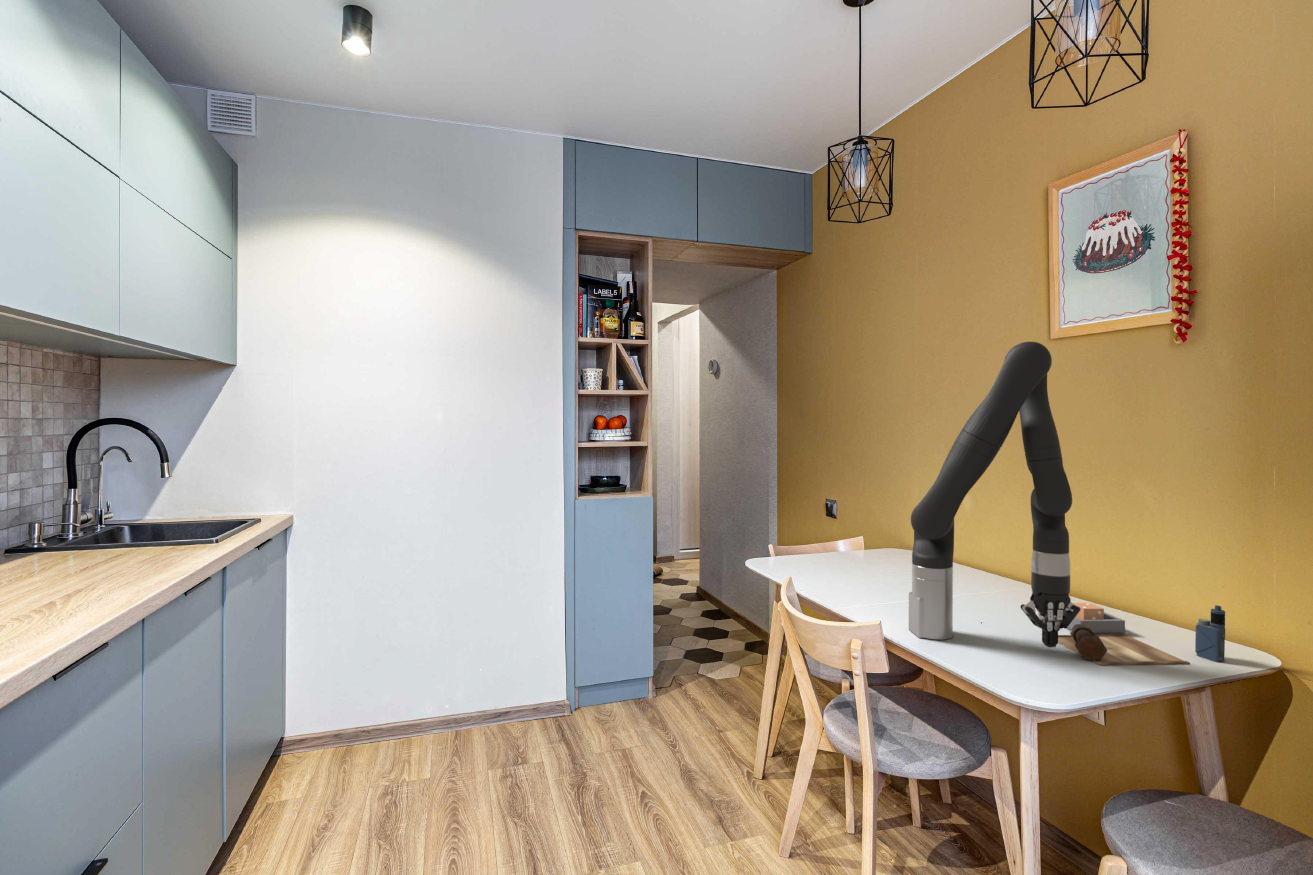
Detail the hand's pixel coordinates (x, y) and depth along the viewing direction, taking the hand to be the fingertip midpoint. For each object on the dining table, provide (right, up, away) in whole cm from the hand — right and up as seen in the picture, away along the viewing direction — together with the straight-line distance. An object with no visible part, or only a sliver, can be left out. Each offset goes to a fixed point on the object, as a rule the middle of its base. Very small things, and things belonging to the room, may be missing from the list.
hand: (1050, 645), depth 141 cm
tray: (+19, -1, +15) cm, 25 cm away
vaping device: (+32, -1, -5) cm, 32 cm away
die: (+19, +3, +15) cm, 25 cm away
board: (+15, -1, 0) cm, 15 cm away
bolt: (+8, -1, 0) cm, 8 cm away
